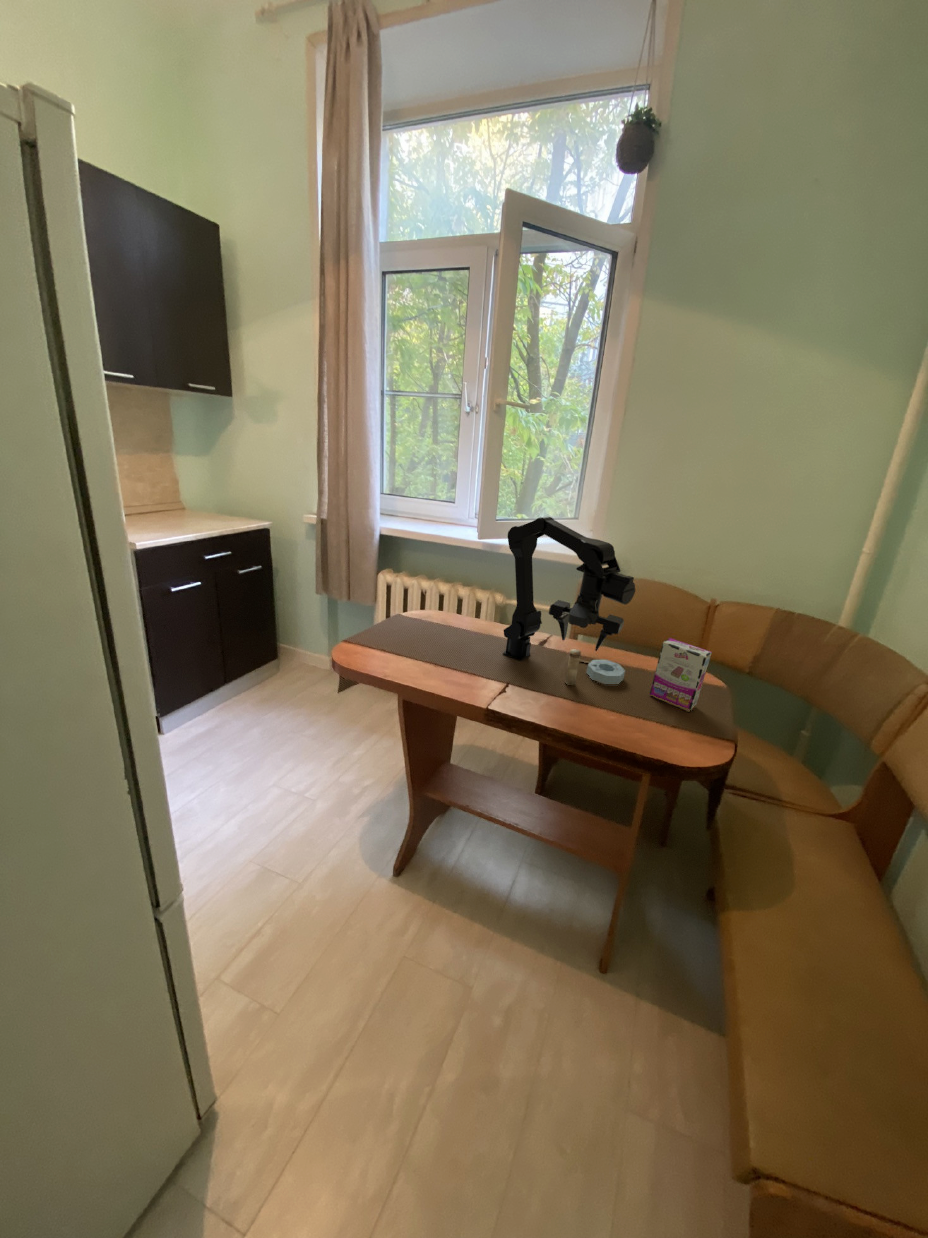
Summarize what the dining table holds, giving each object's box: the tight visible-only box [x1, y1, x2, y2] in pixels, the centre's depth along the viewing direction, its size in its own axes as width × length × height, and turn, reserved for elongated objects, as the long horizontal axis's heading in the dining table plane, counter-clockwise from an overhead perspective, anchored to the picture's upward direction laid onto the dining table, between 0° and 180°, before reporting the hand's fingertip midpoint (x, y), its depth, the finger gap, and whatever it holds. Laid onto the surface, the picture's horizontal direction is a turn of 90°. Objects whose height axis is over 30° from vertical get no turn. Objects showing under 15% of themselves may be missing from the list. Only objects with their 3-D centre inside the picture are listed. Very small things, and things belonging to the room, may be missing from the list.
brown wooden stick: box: [579, 658, 591, 665], centre depth 146 cm, size 12×1×1 cm, turn 67°
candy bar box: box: [649, 637, 712, 711], centre depth 127 cm, size 11×5×16 cm, turn 47°
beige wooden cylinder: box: [564, 648, 582, 686], centre depth 133 cm, size 3×3×10 cm
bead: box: [585, 659, 626, 685], centre depth 139 cm, size 10×10×3 cm
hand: (579, 645), depth 130 cm, fingers open, 9 cm apart
